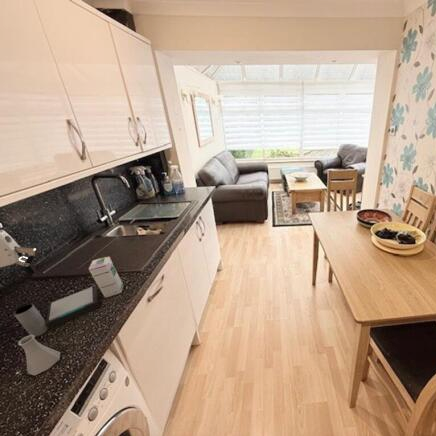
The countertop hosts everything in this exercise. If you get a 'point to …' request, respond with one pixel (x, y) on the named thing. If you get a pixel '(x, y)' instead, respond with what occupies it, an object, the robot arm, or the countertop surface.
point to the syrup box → (106, 276)
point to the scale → (72, 306)
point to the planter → (31, 319)
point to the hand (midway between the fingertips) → (12, 281)
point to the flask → (38, 355)
